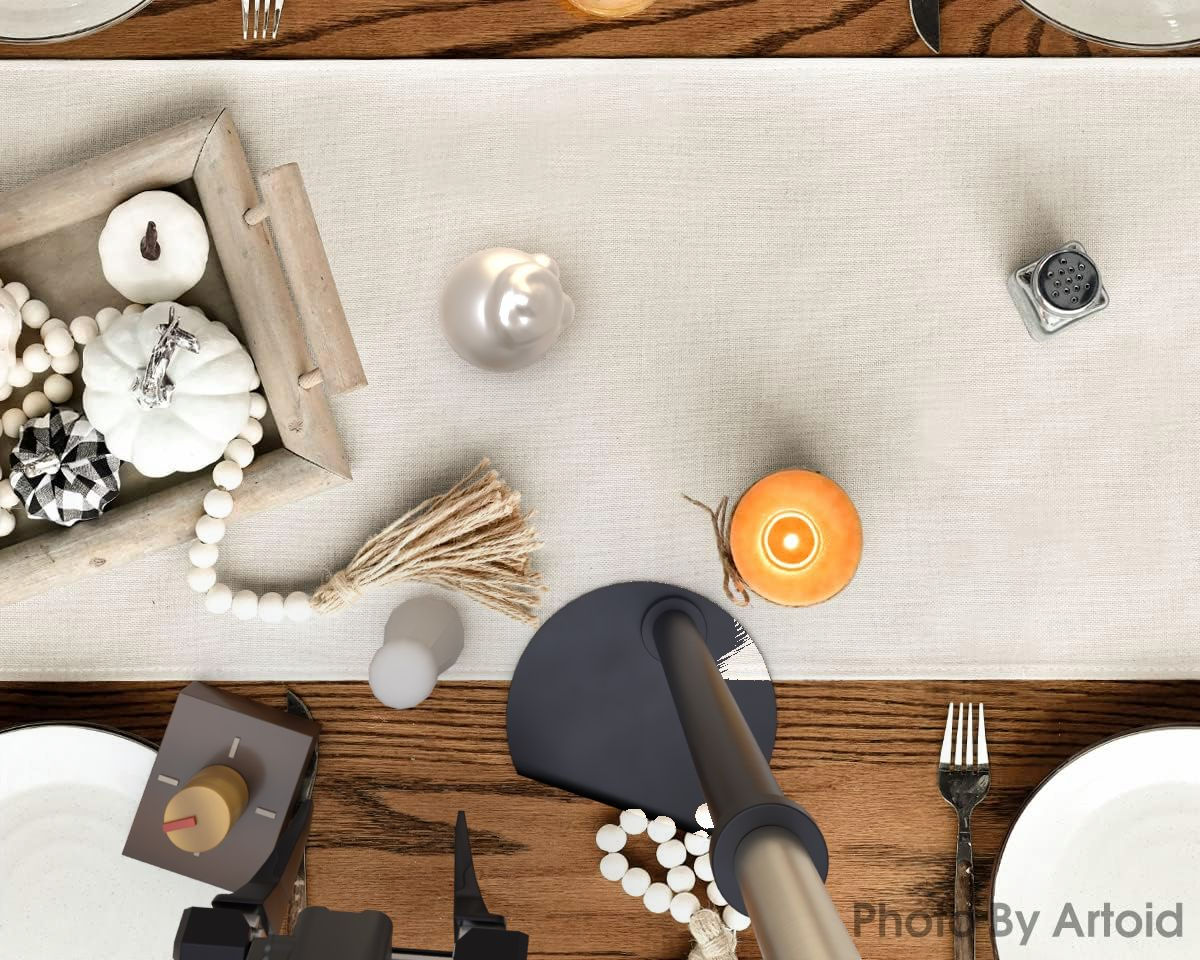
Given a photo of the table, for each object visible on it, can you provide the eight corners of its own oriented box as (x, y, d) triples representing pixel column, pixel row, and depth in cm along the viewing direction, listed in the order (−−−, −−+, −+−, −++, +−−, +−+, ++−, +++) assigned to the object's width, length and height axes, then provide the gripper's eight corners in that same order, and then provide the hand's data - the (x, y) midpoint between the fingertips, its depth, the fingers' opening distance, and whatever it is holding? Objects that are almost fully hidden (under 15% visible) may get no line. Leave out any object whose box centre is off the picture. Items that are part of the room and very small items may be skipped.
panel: (268, 880, 76) (255, 901, 73) (138, 836, 76) (119, 856, 73) (323, 723, 77) (313, 738, 74) (194, 679, 77) (178, 692, 73)
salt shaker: (377, 608, 77) (338, 652, 64) (449, 577, 77) (424, 615, 64) (408, 681, 77) (375, 740, 64) (480, 650, 77) (461, 702, 64)
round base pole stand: (725, 888, 77) (1001, 1797, 27) (469, 802, 77) (278, 1561, 27) (811, 631, 78) (1233, 1060, 28) (558, 544, 78) (531, 822, 28)
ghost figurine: (554, 389, 78) (552, 389, 68) (432, 355, 78) (411, 350, 68) (587, 273, 78) (589, 256, 68) (465, 238, 78) (450, 217, 68)
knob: (242, 758, 74) (221, 781, 69) (254, 820, 73) (234, 847, 69) (180, 772, 73) (155, 796, 69) (192, 834, 73) (168, 861, 69)
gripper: (516, 1092, 47) (544, 758, 58) (98, 1062, 46) (208, 731, 58) (510, 1143, 55) (536, 839, 66) (151, 1118, 54) (240, 816, 65)
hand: (386, 807), depth 64 cm, fingers open, 9 cm apart
